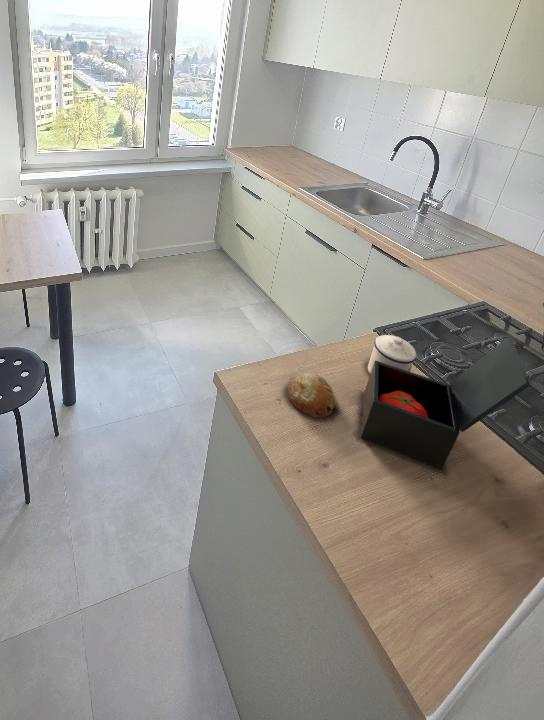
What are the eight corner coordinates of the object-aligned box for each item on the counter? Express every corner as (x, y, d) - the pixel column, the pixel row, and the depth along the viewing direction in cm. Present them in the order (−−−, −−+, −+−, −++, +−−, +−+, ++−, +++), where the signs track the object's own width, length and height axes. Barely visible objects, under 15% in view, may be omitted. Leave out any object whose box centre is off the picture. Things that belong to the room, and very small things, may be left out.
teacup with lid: (408, 395, 99) (422, 357, 94) (366, 381, 102) (378, 344, 97) (403, 361, 109) (416, 325, 104) (365, 350, 112) (376, 315, 107)
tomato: (427, 454, 84) (441, 426, 81) (373, 440, 86) (383, 412, 83) (415, 416, 92) (427, 389, 89) (365, 404, 95) (375, 377, 91)
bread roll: (309, 392, 103) (302, 362, 102) (347, 406, 94) (341, 372, 94) (283, 412, 97) (276, 379, 97) (321, 428, 89) (314, 392, 88)
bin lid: (526, 382, 69) (531, 385, 69) (507, 337, 79) (512, 339, 79) (458, 429, 77) (462, 432, 77) (449, 382, 87) (453, 384, 87)
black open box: (360, 439, 87) (373, 401, 83) (362, 396, 98) (375, 360, 93) (440, 472, 82) (459, 432, 77) (434, 422, 92) (451, 385, 87)
